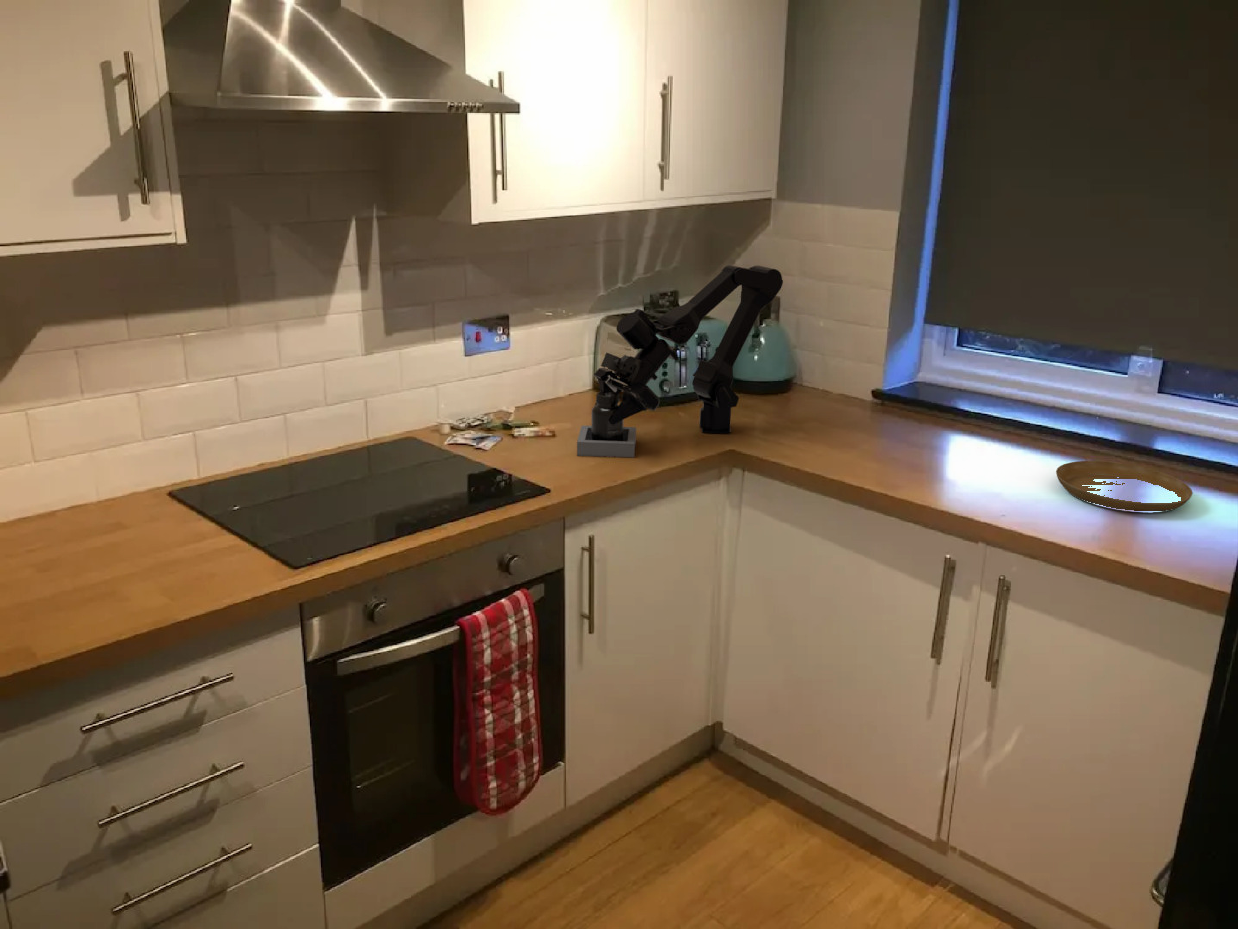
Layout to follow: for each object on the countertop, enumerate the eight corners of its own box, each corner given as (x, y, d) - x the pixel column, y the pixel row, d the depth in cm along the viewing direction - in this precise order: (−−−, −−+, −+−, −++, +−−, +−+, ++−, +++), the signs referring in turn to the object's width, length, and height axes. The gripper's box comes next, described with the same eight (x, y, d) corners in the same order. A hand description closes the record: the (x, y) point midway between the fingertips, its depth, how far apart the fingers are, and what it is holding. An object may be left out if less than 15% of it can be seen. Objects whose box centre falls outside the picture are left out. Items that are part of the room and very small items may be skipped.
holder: (635, 440, 231) (636, 427, 230) (634, 457, 219) (634, 443, 218) (581, 438, 231) (581, 425, 230) (576, 455, 220) (577, 441, 219)
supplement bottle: (624, 443, 228) (625, 390, 224) (621, 453, 222) (622, 398, 218) (593, 442, 229) (593, 388, 225) (589, 451, 222) (589, 397, 219)
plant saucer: (1193, 490, 208) (1196, 474, 207) (1185, 529, 188) (1188, 511, 187) (1064, 468, 219) (1066, 453, 218) (1043, 502, 200) (1046, 486, 199)
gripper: (602, 330, 227) (557, 386, 225) (649, 347, 212) (601, 407, 210) (632, 362, 234) (588, 416, 232) (679, 381, 219) (633, 439, 217)
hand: (601, 419), depth 223 cm, fingers closed on supplement bottle, 7 cm apart
